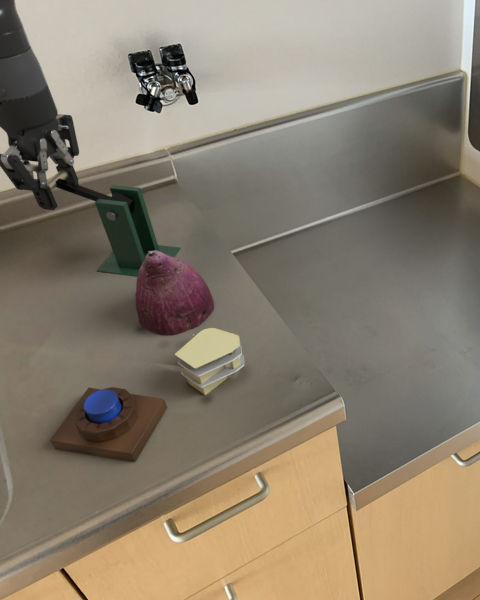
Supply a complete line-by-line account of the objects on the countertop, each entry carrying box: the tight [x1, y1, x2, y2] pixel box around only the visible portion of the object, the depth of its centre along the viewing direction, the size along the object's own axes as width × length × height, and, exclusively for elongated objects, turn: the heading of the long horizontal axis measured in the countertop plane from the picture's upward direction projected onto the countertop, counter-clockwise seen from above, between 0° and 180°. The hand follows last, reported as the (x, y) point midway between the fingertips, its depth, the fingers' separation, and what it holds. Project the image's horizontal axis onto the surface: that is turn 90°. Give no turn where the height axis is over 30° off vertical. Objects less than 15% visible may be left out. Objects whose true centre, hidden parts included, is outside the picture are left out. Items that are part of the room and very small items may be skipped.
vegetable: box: [134, 250, 215, 336], centre depth 83 cm, size 10×10×15 cm
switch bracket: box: [94, 184, 182, 278], centre depth 93 cm, size 10×8×13 cm
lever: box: [47, 170, 134, 214], centre depth 89 cm, size 12×5×2 cm, turn 80°
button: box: [84, 390, 121, 423], centre depth 70 cm, size 4×4×2 cm
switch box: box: [50, 386, 168, 463], centre depth 72 cm, size 10×8×4 cm
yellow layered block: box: [174, 327, 245, 396], centre depth 78 cm, size 10×9×6 cm
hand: (61, 197), depth 91 cm, fingers closed on lever, 5 cm apart
